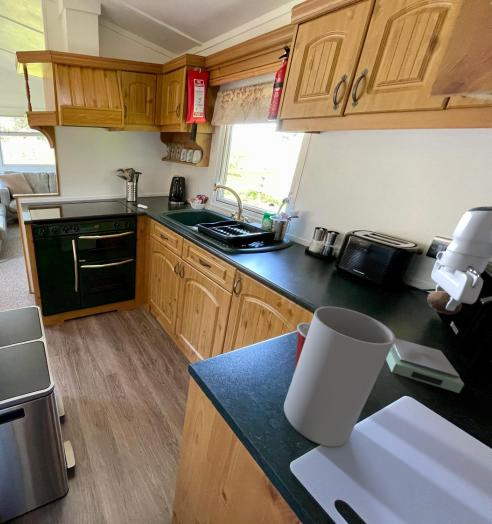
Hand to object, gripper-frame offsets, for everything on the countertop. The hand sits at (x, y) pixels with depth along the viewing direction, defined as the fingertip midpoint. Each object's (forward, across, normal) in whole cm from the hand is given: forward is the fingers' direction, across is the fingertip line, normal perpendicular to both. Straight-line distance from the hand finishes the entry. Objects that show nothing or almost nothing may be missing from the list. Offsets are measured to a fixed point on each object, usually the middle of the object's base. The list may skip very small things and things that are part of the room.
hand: (443, 303), depth 89 cm
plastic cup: (+14, -36, +35) cm, 52 cm away
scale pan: (+12, -17, +7) cm, 22 cm away
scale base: (+15, -17, +7) cm, 23 cm away
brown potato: (+2, 0, 0) cm, 2 cm away
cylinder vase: (+14, -54, +34) cm, 65 cm away
